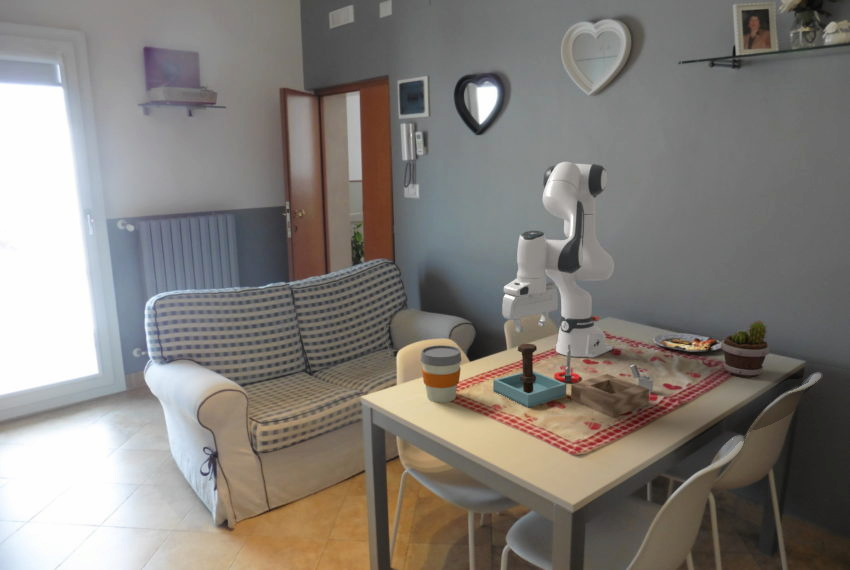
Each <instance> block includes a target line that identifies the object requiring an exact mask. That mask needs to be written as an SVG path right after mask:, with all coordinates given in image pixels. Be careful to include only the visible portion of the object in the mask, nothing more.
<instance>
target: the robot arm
mask: <svg viewBox="0 0 850 570" xmlns="http://www.w3.org/2000/svg"><path fill="white" fill-rule="evenodd" d="M607 181H608V175H607V171H606V168H604V166H602V165H600V164H595V163H593V164H588V163H587V164H586V163H574V162H572V161H571V162H570V161H562V162H560V163H557V164H555V165H551V166H548V168H547V169H545V170H544V173H543V177H542V183H543V184H542V185H543V192H542V193H543V194H542V205H543V206H544V209H546V211H547V212H548V213H550V214H551V215H552V216H554V217H556V218H559V219H561V220H563V221H564V223H563V232H564V236H565V237H566V238H567V239H563V240H562V239H548V238H546V234H545V232H543V231H540V230H528V231H524V232H522V233H520V235H519V238H518V242H517V254H516V262H517V269H518V270H517V273H516V278H515V279H513V280H512V281H510V282H509V283H507V284H506V285H504V286H503V293H505V294H504V296H503V298H502V304H501V305H502V311H501V313H502V314H501V315H502V316H503V318H504V319H507V320H509V321H512V322H513V324H514V326H515V332H517V333H521V332H523V331H524V326H523V325H521V323H520V322H521V319H522V318H529V317H531V316H536V315H541V316H540V319H538V321H537V322H538V324H537V326H539V327H541V328H542V327H546V325H547V324H546V323H547V320H548V317H549V313H550V312H554V311H557V310H558V307H559V298H558V297H559V296H558V290H559V294H560V301H561V302H560V304H561V305H560V307H561V308H560V309H561V313H560V315H559V330H558V338H557V343H555V347H556V348H555V351H556V353H558V354H560V355H563V356H567V351H568V345H570V351H571V357H575V358H576V357H577V358H578V357H582V358H593V359H594V358H596V357H599V356H600V355H603V354H604V353H605V354H606V353H607V352H609V351H612V350H613V346H612V345H610V344H608V343H607V336H606V333H604V332H603V331H602V330H601V329H600V328H599V327H598V326H597V325H595V322H596V323H597V322H599V320H600V317H599V316H597V315H592V303H593V301H592V300H593V299H592V295H591V294H590V293H589V292H588V291H587V290H585V289H583V288H582V287H580V286H579V285H578V284H577V282H576V281H589V282H597V281H606V280H608V279H609V278H610V277H612V276H613V275H612V274H613V273H614V270H615V261H614V260H613V257H612V256H611V255H610V254H609V253H608V252H607V251H605V250H604V249H603V248H602V246H601V244H600V242H599V241H598V237H597V235H596V234H597V232H596V198H597V197H598V195H600V194H602V193H603V191H604V190H605V188H606V185H607ZM547 277H548V278H549V279H550V280H552V281H548V282H547ZM557 289H558V290H557Z"/></svg>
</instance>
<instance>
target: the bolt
mask: <svg viewBox="0 0 850 570" xmlns="http://www.w3.org/2000/svg"><path fill="white" fill-rule="evenodd" d="M517 352H520V353H521V356H522V357H521V358H522V372H523V374H521V376H520V381H521V382H523V390H524V392H526V393H531V392H532V391H533V382H535V380H536V376H535V375H534V374H533V371H534V367H533V366H534V364H533V361H534V358H533V356H534V353H535V352H537V345H535V344H533V343H521V344H519V345H518V346H517Z"/></svg>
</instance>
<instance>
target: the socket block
mask: <svg viewBox="0 0 850 570" xmlns="http://www.w3.org/2000/svg"><path fill="white" fill-rule="evenodd" d="M570 384H571V387H570V389H571V390H570V400H571V401H572V400H573V401H572V402H575V403H577V404H579V403H580V405H582V406H584V405H585V406H584V407H587V408H589V407H590V408H589V409H591V408H592V410H594V409H595V410H594V411H596V412H598V411H599V412H598V413H601V414H604V415H606V416H609V417H611V418H615V417H618V416H620V415H623V414H627V413H630V412H632V411H634V410H638V409H641V408H644V407H646V406H645V405H647V406H649V405H648V404H649V403H650V393H649V389H648V388H645V387H642V386H640V385H638V383H633V382H631V381H628V380H625V379H622V378H620V377H617V376H614V375H611V374H608V373H606V374H602V375H598V376H596V377H592V378H589V379H585V380H581V381H578V383H570ZM643 406H644V407H643ZM640 407H641V408H640ZM629 411H630V412H629Z"/></svg>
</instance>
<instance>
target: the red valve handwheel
mask: <svg viewBox="0 0 850 570" xmlns="http://www.w3.org/2000/svg"><path fill="white" fill-rule="evenodd" d="M571 358H572V356H571V351H570V345H568V351H567V355H566V367H565V371H560V372H556V373H554V375H553V377H554V379H555V380H557V381H560V382H563V383H565V382H566V383H565V384H575V383H578V382H579V380H580V378H581V376H580V374H578V373H576V372H572V368H571ZM560 375H561V376H560ZM573 376H574V377H573Z"/></svg>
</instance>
